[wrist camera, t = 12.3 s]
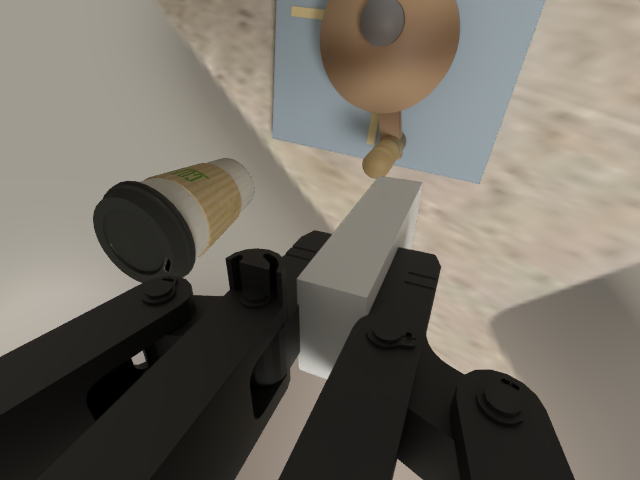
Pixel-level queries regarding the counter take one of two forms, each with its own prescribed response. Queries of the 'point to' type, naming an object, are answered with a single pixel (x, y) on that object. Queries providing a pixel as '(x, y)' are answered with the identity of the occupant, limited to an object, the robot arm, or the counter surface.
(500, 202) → the counter surface
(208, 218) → the coffee cup
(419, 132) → the blue board
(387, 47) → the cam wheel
